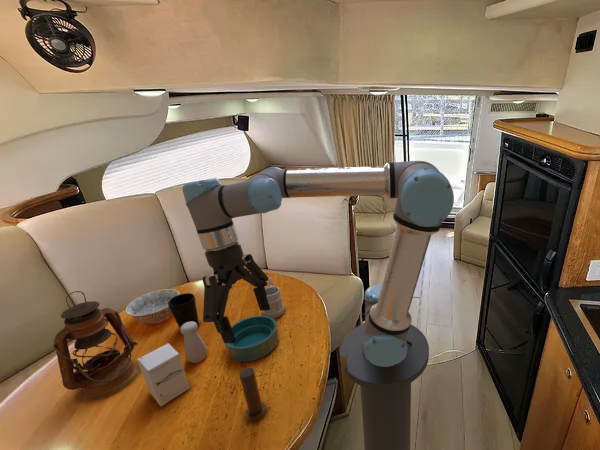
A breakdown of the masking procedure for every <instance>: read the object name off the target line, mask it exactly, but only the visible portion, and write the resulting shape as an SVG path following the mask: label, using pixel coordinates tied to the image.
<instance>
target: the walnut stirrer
mask: <svg viewBox="0 0 600 450" xmlns="http://www.w3.org/2000/svg"><path fill="white" fill-rule="evenodd" d="M239 379H240V383H241V387H242V391H243V395H244V399H245V403H246V407H247V409H246V412H245V415H246V418H247V420H248V421H249V422H252V423H255V422H258V421H260V420H262V419H263V417H265V415H266V413H267V409H266V405H265V403H264V402H262V399H261V395H260V390H259V385H258V381H257V378H256V373H255V369H254V368H253V367H245V368H243V369H242V370H241V371H240V372H239Z"/></svg>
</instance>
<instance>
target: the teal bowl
mask: <svg viewBox="0 0 600 450" xmlns="http://www.w3.org/2000/svg"><path fill="white" fill-rule="evenodd" d="M231 328H232V331H233V333H234V336H235V339H236V341H235V342H234V343H224V346H225V350H226V355H227V357H228V358H230V360H232V361H234V362H238V363H240V362H242V363H247V362H251V361H256V360H258V359H260V358H263V357H265V356H266V355H268V354H269V353H271V352H272V351H273V350H274V349H275V348H276V346H277V345H278V344H279V340H280V333H279V328H278V323H277V321H276V319H275V318H271V317H268V316H265V315H252V316H249V317H245V318H243V319H240V320H239V321H237V322H235V323H234V324H233V325H231Z"/></svg>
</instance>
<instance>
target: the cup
mask: <svg viewBox="0 0 600 450" xmlns="http://www.w3.org/2000/svg"><path fill="white" fill-rule="evenodd" d="M195 296H196V295H195V294H193V293H189V292H187V293H186V292H185V293H180V295H178V296H175V297H173V298H172V299H170V300H169V302H168V305H169V307H170V309H171V312H172V314H171V315H172V316H173V318H174V320H175V322H176V324H177V326H178V329H180V328H181V326H182V325H183V324H185V323H187V322H190V321H192V322H196V324H197V327H198V328H199V327H200V321H199V316H198V309H197V308H198V307H197V303H196V297H195Z"/></svg>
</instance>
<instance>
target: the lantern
mask: <svg viewBox="0 0 600 450" xmlns="http://www.w3.org/2000/svg"><path fill="white" fill-rule="evenodd" d="M74 293H81V295H83V297H84V302H80V303H76V304H75V305H73V306H70V304H69V303H68V298H69V296H70V295H73V294H74ZM65 302H66V304H67V306H68V308H66V309H65V310H63V311H62V312H61V314H60V317H61V319H64V321H63V324H64V328H63V329H61V330H60V331H59V332H57V334H56V335H55V336H54V339H53V344H52V348H53V349H54V350H55V352H56V357H57V362H58V367H59V368H58V369H59V371H60V372H59V373H60V375H61V380H62V385H63V386H64V388H65V389H66V390H70V391H74V390H78V389H80V390H79V397H80V399H82V400H83V401H97V400H98V401H99V400H102V399H104V398H108V397H110V396H113V395H114V394H116V393H119V392H120V391H122V390H123V389H125V388H127V387H128V386H129V385H130V384H131V383H132V382H133V381H135V379H136V378H137V376H138V375H139V372H140V366H139V365H137V364H136V363H134V362H133V360H132V352H133V351H134V349H135V346H137V345H139V344H138V342H137V341H135V340H134V338H133V337H132V335H131V333H130V332H129V330H128V329H127V328H126V326H125V325H124V323H123V320H122V318H121V315H120V313H119V312H118V311H117V310H114V309H112V308H108V307H106V308H105V307H104V308H102V309H100V308H99V307H100V302H99V301H96V300H91V301H87V299H86V294H85V293H84V292H83V291H81V290H75V291H72V292H71V293H69V294H67V295H66V297H65ZM108 325H110V326H111V327H112V329H113V330H114V332H115V333H116V334H117V335H116V334H115V333H114V332H112V331H111V329H109V328H106V327H107V326H108ZM112 335H113V336H114V337H115V341H114V342H113V344H112V347H108V346H104V348H105V349H108V350H104V351H102V352H99V353H97V354H95V355H86V354H87V352H88V350H89V349H92V348H103V346H102V345H101V344H103V343H105V342H106V341H108V340H109V338H110V337H111V336H112ZM118 337H119V338H118ZM118 339H120V340H121V342H122V343H123V345H124V347H123V352H122V353H121V351H119V349H116V347H117V345H118ZM68 340H70V341H71V340H72V341H73V340H74V343H73V344H74V346H73V347H74V349H75V350H73V351H72V355H73V356H74V357H76V358H72V357H71V353H70V349H69V344H68ZM80 350H81V351H82V350H84V352H83V354H82V355H78V354H77V353H78V352H80ZM78 358H81V362H79V360H78ZM84 358H89V359H87V361H85V362H84ZM81 363H82V364H81ZM74 370H75V371H74Z"/></svg>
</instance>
